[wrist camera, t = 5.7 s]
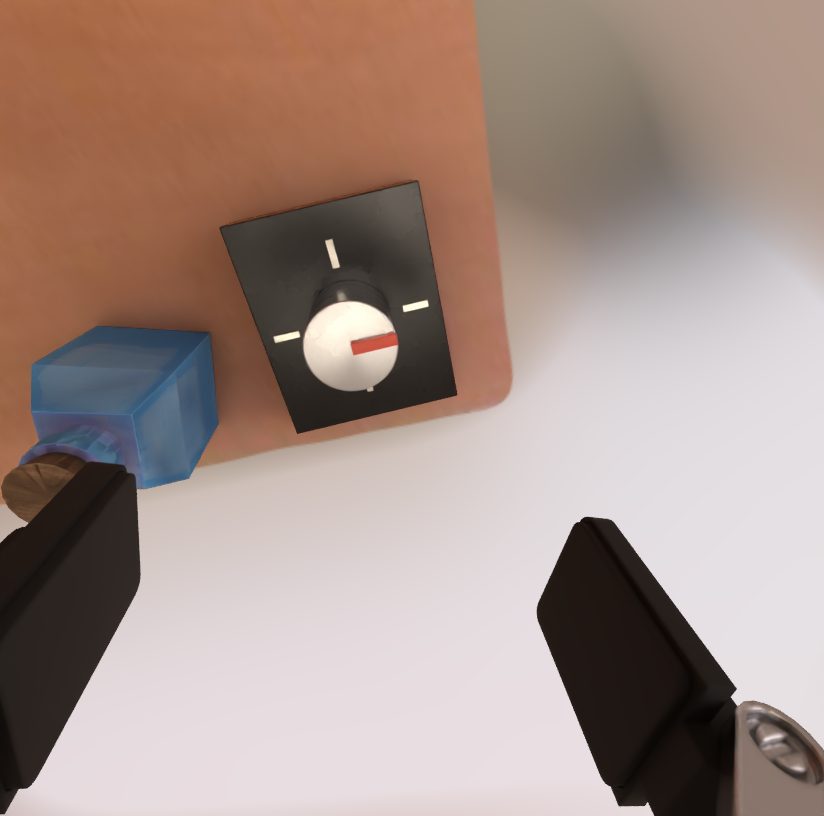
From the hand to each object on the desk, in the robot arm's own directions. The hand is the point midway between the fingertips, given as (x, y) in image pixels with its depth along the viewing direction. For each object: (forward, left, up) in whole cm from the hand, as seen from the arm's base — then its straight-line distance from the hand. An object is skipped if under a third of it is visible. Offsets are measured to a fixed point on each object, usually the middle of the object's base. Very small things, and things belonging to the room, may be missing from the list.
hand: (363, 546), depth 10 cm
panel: (0, 0, -20) cm, 20 cm away
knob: (0, 0, -17) cm, 17 cm away
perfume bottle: (-13, -1, -21) cm, 24 cm away
